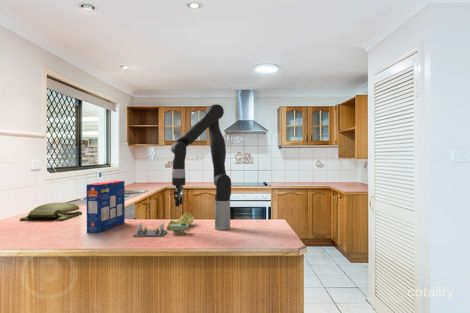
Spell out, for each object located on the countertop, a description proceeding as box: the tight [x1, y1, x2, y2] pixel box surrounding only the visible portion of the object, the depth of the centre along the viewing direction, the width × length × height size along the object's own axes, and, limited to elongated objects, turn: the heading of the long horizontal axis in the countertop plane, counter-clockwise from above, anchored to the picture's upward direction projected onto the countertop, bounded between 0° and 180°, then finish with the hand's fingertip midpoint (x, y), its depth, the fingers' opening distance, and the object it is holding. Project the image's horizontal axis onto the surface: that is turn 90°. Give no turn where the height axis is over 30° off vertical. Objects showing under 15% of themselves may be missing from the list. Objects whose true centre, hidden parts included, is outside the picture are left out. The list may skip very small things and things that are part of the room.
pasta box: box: [86, 180, 126, 234], centre depth 202 cm, size 28×8×28 cm, turn 169°
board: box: [168, 223, 190, 231], centre depth 185 cm, size 10×6×3 cm, turn 89°
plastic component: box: [166, 212, 195, 230], centre depth 204 cm, size 20×7×10 cm
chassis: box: [132, 222, 168, 238], centre depth 184 cm, size 16×12×6 cm
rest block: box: [172, 230, 186, 236], centre depth 185 cm, size 6×4×3 cm, turn 89°
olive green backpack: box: [19, 202, 83, 222], centre depth 239 cm, size 35×31×10 cm
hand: (178, 205), depth 186 cm, fingers open, 8 cm apart
